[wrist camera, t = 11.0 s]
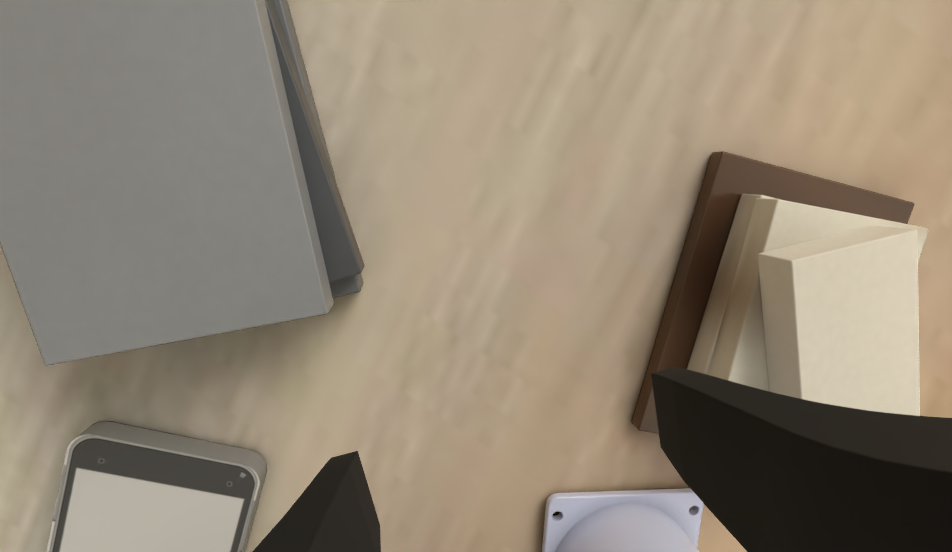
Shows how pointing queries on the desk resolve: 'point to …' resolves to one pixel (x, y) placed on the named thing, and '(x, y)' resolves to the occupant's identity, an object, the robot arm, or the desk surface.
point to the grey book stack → (163, 173)
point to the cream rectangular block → (844, 319)
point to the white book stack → (748, 264)
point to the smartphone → (154, 493)
